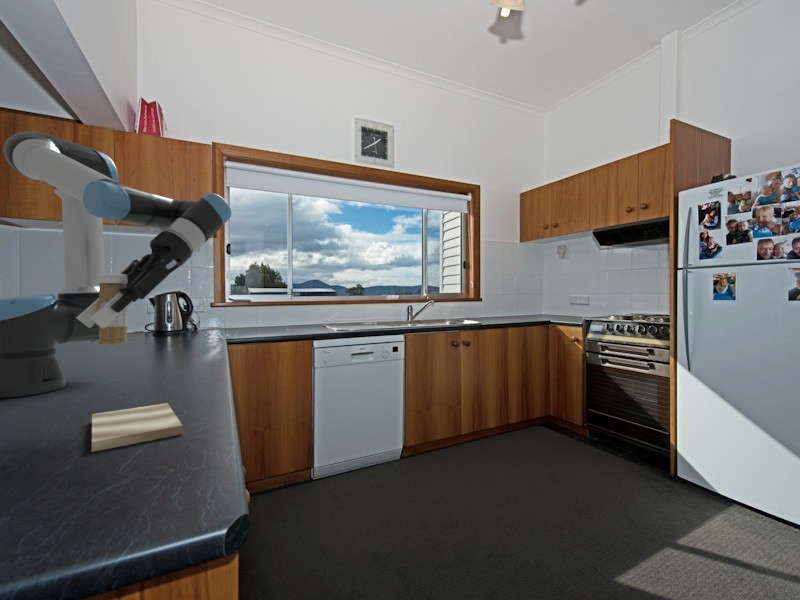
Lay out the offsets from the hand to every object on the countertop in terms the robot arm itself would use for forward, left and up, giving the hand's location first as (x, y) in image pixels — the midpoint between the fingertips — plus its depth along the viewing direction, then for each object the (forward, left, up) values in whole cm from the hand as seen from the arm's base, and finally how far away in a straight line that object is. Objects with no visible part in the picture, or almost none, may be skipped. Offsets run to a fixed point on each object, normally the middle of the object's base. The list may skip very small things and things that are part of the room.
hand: (90, 322), depth 70 cm
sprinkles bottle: (-2, +4, -4) cm, 6 cm away
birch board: (+8, +6, -18) cm, 21 cm away
